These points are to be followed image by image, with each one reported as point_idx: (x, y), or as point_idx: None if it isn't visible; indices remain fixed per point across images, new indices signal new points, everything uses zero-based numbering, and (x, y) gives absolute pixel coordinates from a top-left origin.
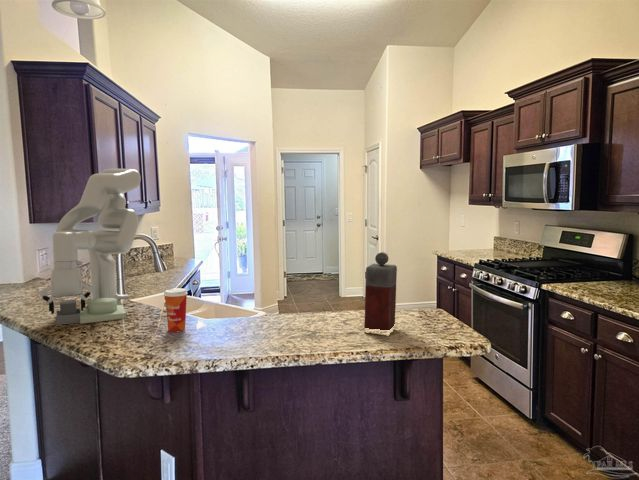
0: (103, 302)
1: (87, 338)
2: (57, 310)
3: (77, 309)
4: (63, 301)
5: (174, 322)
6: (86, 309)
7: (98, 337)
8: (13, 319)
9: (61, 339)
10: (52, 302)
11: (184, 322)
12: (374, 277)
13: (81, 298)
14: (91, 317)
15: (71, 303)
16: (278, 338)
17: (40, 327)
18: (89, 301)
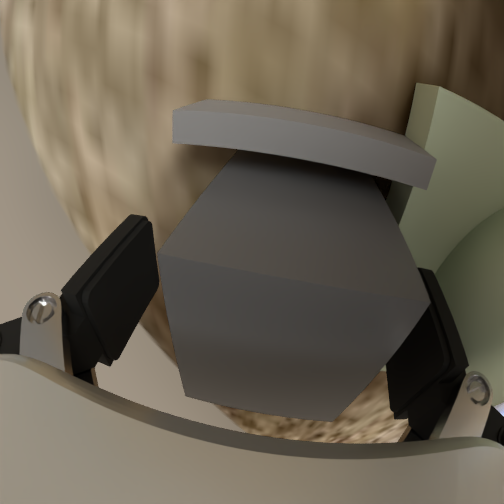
0: (494, 394)
1: (292, 432)
2: (180, 128)
3: (401, 178)
4: (210, 331)
5: None
6: (478, 158)
7: (317, 435)
8: (4, 45)
9: (230, 414)
10: (99, 352)
11: None
12: None
13: (410, 425)
14: (385, 368)
15: (290, 413)
16: None
17: None
18: (492, 340)
